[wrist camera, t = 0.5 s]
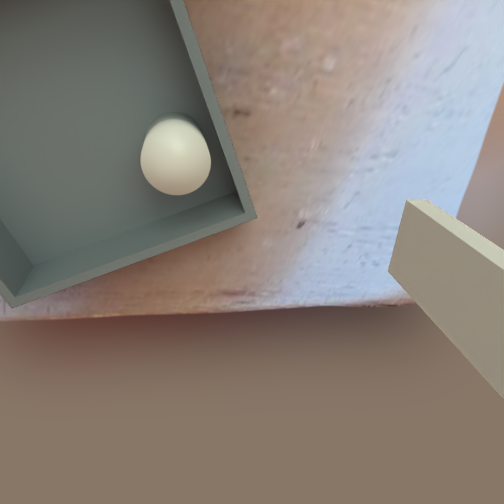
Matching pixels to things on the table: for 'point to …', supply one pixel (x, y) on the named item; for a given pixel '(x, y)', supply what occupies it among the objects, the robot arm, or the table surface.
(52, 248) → the crate
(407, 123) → the table surface
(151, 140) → the cream bullet shape
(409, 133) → the table surface
